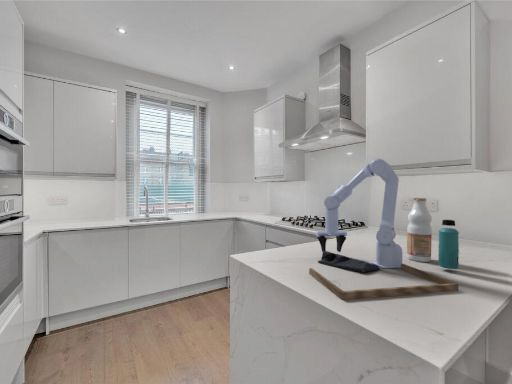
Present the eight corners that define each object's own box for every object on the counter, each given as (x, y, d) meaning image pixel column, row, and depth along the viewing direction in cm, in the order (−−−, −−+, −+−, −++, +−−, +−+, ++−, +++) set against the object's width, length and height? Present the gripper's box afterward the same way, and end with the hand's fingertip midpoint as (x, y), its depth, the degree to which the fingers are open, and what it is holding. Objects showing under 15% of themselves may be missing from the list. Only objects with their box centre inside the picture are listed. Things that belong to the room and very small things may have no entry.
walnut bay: (403, 268, 102) (403, 263, 102) (458, 290, 80) (458, 284, 80) (309, 273, 94) (309, 268, 94) (341, 299, 72) (342, 292, 72)
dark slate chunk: (361, 277, 92) (361, 264, 92) (314, 262, 110) (314, 251, 110) (383, 270, 101) (383, 258, 101) (336, 257, 119) (336, 247, 119)
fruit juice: (401, 257, 120) (402, 197, 119) (417, 256, 122) (419, 197, 122) (419, 263, 110) (420, 198, 110) (436, 261, 113) (437, 198, 113)
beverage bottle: (459, 274, 96) (461, 221, 96) (438, 271, 99) (439, 219, 99) (457, 270, 101) (458, 219, 101) (436, 267, 105) (438, 218, 105)
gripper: (341, 221, 124) (340, 249, 124) (313, 221, 121) (312, 250, 121) (349, 223, 117) (349, 252, 117) (320, 223, 114) (319, 253, 114)
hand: (331, 251), depth 118 cm, fingers open, 7 cm apart
